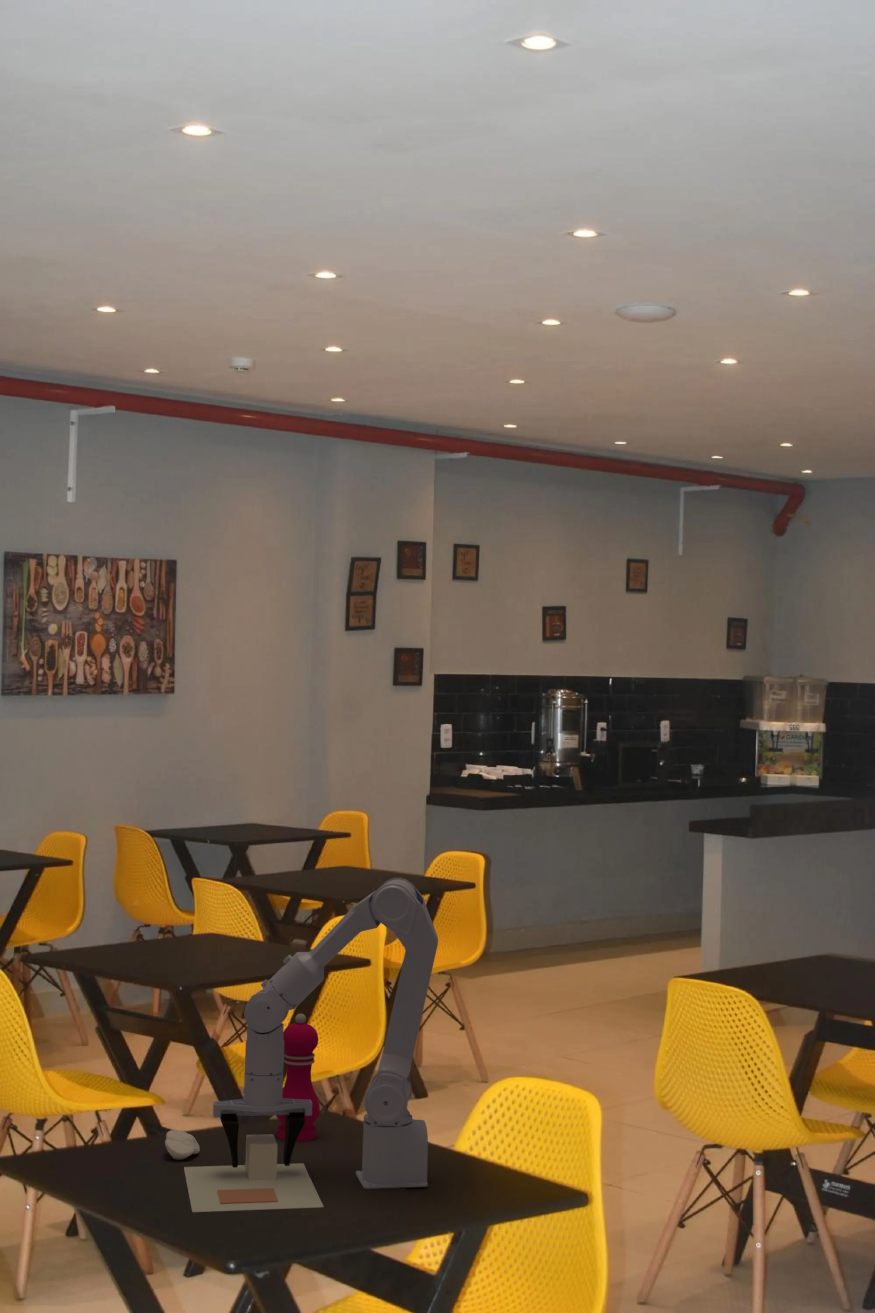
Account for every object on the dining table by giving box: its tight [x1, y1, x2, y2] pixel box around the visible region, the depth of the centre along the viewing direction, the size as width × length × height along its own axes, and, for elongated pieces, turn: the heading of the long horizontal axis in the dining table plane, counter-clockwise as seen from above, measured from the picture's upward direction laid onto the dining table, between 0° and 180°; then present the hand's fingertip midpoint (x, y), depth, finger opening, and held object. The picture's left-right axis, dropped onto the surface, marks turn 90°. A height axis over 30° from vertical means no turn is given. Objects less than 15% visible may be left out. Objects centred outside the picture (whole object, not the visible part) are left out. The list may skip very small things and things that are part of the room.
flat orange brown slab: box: [217, 1188, 278, 1204], centre depth 217 cm, size 8×6×1 cm
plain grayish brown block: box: [244, 1133, 278, 1180], centre depth 229 cm, size 4×6×5 cm, turn 12°
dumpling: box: [164, 1129, 201, 1161], centre depth 237 cm, size 7×5×4 cm
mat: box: [183, 1162, 324, 1213], centre depth 222 cm, size 18×22×1 cm
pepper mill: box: [275, 1013, 321, 1142], centre depth 251 cm, size 7×7×20 cm
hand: (260, 1165), depth 229 cm, fingers open, 7 cm apart
